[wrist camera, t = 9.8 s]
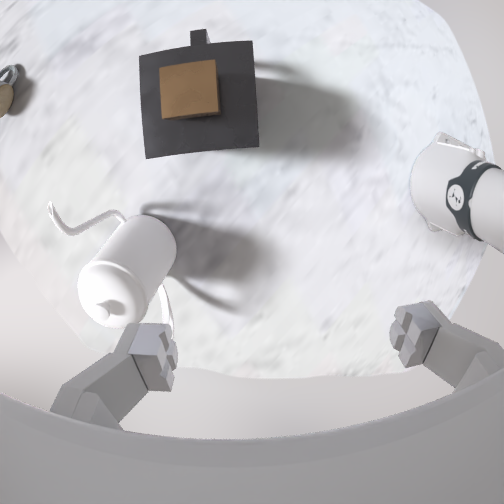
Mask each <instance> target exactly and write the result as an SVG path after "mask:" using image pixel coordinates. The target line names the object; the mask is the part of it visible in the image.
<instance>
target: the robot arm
mask: <svg viewBox="0 0 504 504" xmlns="http://www.w3.org/2000/svg"><path fill="white" fill-rule="evenodd" d="M410 191H411V197H412V201H413V203H414V206H415V207H416V209H417V211H418V212H419V213H420V214H421V215H422V216H423V217H424V218H425V219H426V222H427V225H428V227H429V229H430V230H431V231H433V232H437V231H440V230H445V231H447V232H449V233H451V234H453V235H455V236H460V235H464V234H467V235H468V236H470V237H471V238H473V239H476V240H478V241H485V242H486V243H488V244H489V245H491V246H492V247H494V248H496V249H497V250H498V251H500V252H502V253H503V254H504V170H502V169H501V168H500V167H498V166H496V165H495V164H493V163H490V162H487V161H486V158H485V152H484V151H482V150H480V149H476V148H475V149H474V148H471V147H470V146H468V145H466V144H464V143H462V142H461V141H459V140H457V139H455V138H453V137H451V136H449V135H447V134H445V133H442V132H438V133H437V134H436V136H435V138H434V140H433V142H432V143H431V144H430V145H429V146H428V147H426V148H425V149H424V150H423V151H422V152H421V153H420V154H419V156H418V157H417V159H416V161H415V163H414V166H413V169H412V172H411V178H410ZM394 316H395V318H396V320H395V321H394V322H393V324H392V325H391V328H390V341H391V344H392V346H393V348H394V349H396V350H398V351H399V355H398V356H399V358H400V360H401V362H402V363H403V365H404V367H405V368H408V367H412V366H416V365H420V364H423V365H424V366H425V367H427V368H428V369H430V370H431V371H432V372H434V373H435V374H436V375H438V376H439V377H441V378H442V379H443V380H445V381H446V382H447V383H449V384H450V385H451V386H453V387H454V388H455V390H454V391H453V393H452V394H450V395H448V396H445V397H443V398H440V399H437V400H435V401H433V402H430V403H427V404H425V405H422V406H419V407H416V408H413V409H410V410H407V411H404V412H401V413H398V414H394V415H391V416H388V417H384V418H381V419H377V420H373V421H369V422H366V423H361V424H357V425H353V426H348V427H343V428H338V429H333V430H327V431H322V432H315V433H308V434H300V435H293V436H283V437H271V438H256V439H194V438H179V437H167V436H158V435H150V434H142V433H135V432H130V431H124V430H123V428H122V427H121V426H120V425H119V422H120V421H121V420H122V419H123V418H124V417H125V416H126V415H127V414H128V413H129V412H130V411H131V410H132V408H133V407H134V406H135V405H136V404H137V403H138V402H139V401H140V400H141V399H142V398H143V397H144V396H145V395H146V394H147V393H148V391H169V392H171V390H172V385H173V381H174V375H173V372H172V371H173V370H174V369H175V368H176V367H177V362H178V352H177V346H176V342H174V341H173V340H172V339H171V338H172V334H173V332H172V329H171V326H170V325H169V324H156V323H129V324H127V326H126V328H125V330H124V332H123V334H122V336H121V338H120V340H119V342H118V344H117V346H116V348H115V350H114V353H109V354H107V355H106V356H104V357H103V358H101V359H100V360H98V361H97V362H95V363H94V364H93V365H91V366H90V367H88V368H87V369H85V370H84V371H82V372H81V373H79V374H78V375H77V376H75V377H74V378H72V379H71V380H69V381H68V382H66V383H65V384H63V385H62V387H61V389H60V391H59V393H58V394H57V397H56V399H55V401H54V403H53V405H52V407H51V409H50V411H47V410H43V409H41V408H38V407H35V406H32V405H30V404H27V403H25V402H22V401H20V400H18V399H15V398H13V397H11V396H8V395H6V394H4V393H2V392H0V504H504V350H503V349H502V347H501V346H500V345H499V344H498V343H497V342H494V341H492V340H490V339H488V338H486V337H484V336H482V335H479V334H477V333H475V332H473V331H471V330H469V329H467V328H464V327H462V326H460V325H457V324H455V323H453V324H452V323H451V322H450V321H449V320H448V318H447V317H446V316H445V315H444V314H443V313H442V312H441V310H440V309H439V308H438V307H437V306H436V305H435V304H434V303H433V302H432V301H430V300H428V301H424V302H419V303H415V304H410V305H404V306H398V308H397V309H396V311H395V314H394Z"/></svg>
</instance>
